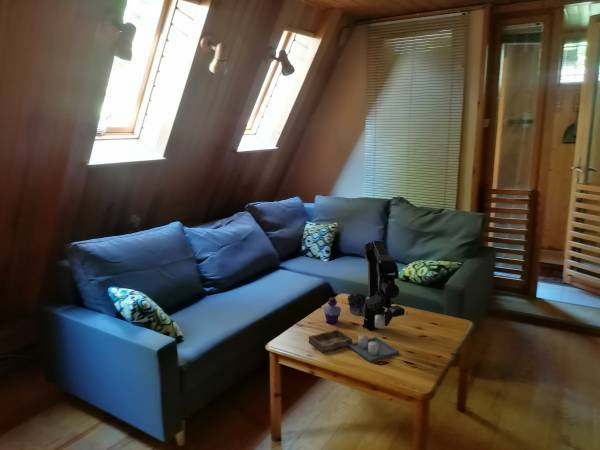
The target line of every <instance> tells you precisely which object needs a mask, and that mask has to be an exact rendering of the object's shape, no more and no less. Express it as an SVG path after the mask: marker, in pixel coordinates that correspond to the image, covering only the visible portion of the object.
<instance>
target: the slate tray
mask: <svg viewBox="0 0 600 450" xmlns="http://www.w3.org/2000/svg"><path fill="white" fill-rule="evenodd" d="M369 342H377V343H378V355H377V356H370V355H368V343H369ZM368 343H367V348H366V349H360V348H358V341H355V342H352V343H351V344H348V347H347V348H348V349H350V350H351V351H352V352H354V353H356V354H357V355H358V356H359V357H361V358H363V359H364V360H365V361H367V362H368V363H370V364H371V363H374V362H377V361H380V360H383V359H384V360H385V359H387V358H390V357H393V356H396V355H399V353H400V352H399V350H398V349H396V348H395V347H393V346H391V345H390V344H389V343H387V342H386V341H384V340H382V339H380V338H378V336H374V337H370V338H368Z"/></svg>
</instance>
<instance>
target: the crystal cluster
mask: <svg viewBox="0 0 600 450" xmlns="http://www.w3.org/2000/svg"><path fill="white" fill-rule="evenodd" d="M367 296H368V295H365V294H363V293H359V292H357V293H355V295H354V294H352V293H351V294H349V295H348V297H347V301H348V306H349V307H348V308H349V312H350V313H351V314H352V315H356V316H363V317H364V315H363V313H362V308H363V306H364V304H365V299H366V297H367Z"/></svg>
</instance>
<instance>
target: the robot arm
mask: <svg viewBox="0 0 600 450" xmlns="http://www.w3.org/2000/svg"><path fill="white" fill-rule="evenodd" d="M362 251H363V255H364V259H365V261H366V262H367V277H368V280H367V283H368V285H367V286H368V287H367V288H368V289H367V291H368V292H367V293H368V295H366V296H367V297H366V299H365V304H364V306H363V308H362V313H363V315H364V316H363V315H362V316H363V324H362V325H361V326H362V327H363V328H364V329H366V330H368V331H370V332H372V331H375V330H379V328H376V327H375V315H384V316H385V323H384V327H388V326H389V325H390V323H391V321H392V319H393V318H398V317H401V316H404V315H405V312H406V309H405V308H404V307H402V306H400V305H394V304H395V301H394V300H393V299H394V298H396V297H397V296H399V294H400V287H399V286H398V285H397V283H396V281H395V280H399V275H400V273H399V267H398V264H397V262H396V261H395V260H394V258H393V257H391V256H389V255H388V252H387V250H386V248H385V246H384V242H383V241H382V240H372V241H370V242H368V243H365V244H364V246H363V249H362Z"/></svg>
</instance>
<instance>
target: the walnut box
mask: <svg viewBox="0 0 600 450" xmlns="http://www.w3.org/2000/svg"><path fill="white" fill-rule="evenodd" d="M351 343H353V338H351V337H350V336H349V335H347V334H345V333H344V332H343V331H342V330H340V329H334V330H329V331H324V332H320V333H317V334H313V335H309V336H308V344H310V345H311V346H312V347H313V348H315V349H316V350H318V351H319V352H320V353H321V354H325V353H329V352H333V351H336V350H340V349H344V348H348V344H351Z"/></svg>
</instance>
